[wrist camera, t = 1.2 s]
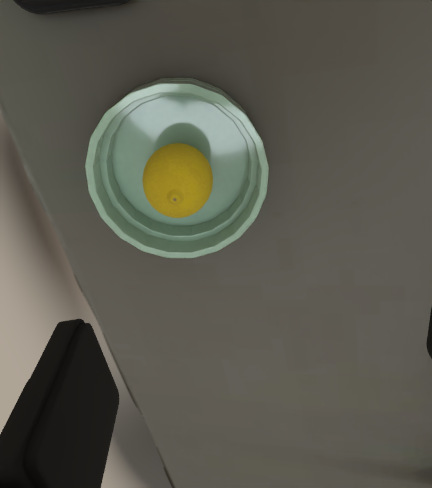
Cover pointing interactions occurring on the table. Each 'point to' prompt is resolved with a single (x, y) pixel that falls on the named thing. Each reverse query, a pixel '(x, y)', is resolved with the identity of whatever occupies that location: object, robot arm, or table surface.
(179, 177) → the lemon
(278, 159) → the table surface
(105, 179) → the fruit bowl
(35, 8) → the carrying case
